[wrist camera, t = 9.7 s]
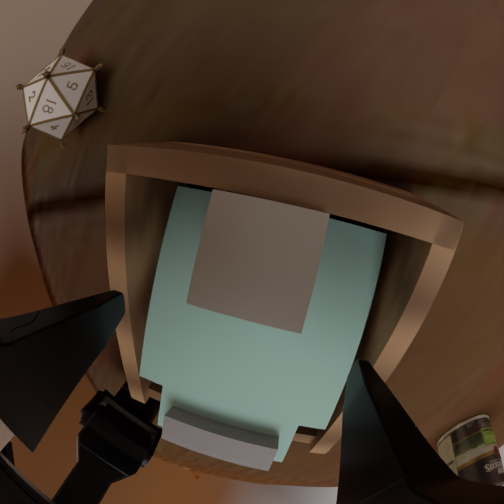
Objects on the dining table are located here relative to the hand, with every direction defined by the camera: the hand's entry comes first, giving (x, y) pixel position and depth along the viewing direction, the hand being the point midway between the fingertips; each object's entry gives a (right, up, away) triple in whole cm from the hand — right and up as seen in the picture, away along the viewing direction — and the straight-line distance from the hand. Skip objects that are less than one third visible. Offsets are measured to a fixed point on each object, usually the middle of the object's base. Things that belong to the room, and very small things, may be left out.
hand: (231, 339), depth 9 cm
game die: (-15, +18, +10) cm, 26 cm away
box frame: (+2, 0, +13) cm, 14 cm away
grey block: (+2, +2, +7) cm, 8 cm away
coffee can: (+35, -26, +16) cm, 47 cm away
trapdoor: (0, -3, +8) cm, 9 cm away
